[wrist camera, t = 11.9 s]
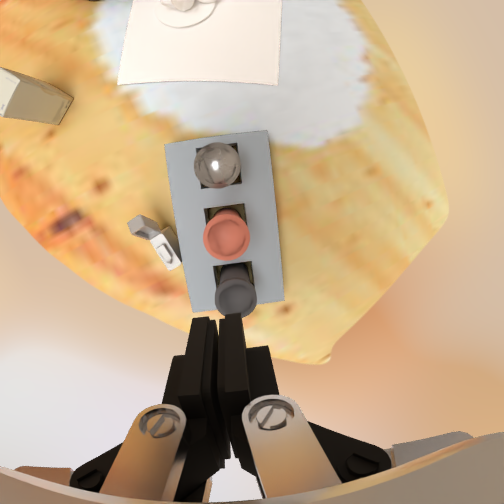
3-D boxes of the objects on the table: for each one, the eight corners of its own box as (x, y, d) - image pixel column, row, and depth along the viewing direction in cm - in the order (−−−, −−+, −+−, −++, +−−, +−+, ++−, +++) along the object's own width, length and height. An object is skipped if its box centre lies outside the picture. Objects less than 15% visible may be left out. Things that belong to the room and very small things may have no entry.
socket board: (263, 134, 34) (267, 130, 30) (279, 287, 39) (284, 300, 35) (171, 146, 33) (164, 144, 29) (196, 298, 39) (192, 312, 35)
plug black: (249, 254, 36) (254, 277, 29) (253, 285, 38) (259, 315, 30) (214, 258, 36) (211, 283, 29) (219, 290, 37) (218, 321, 30)
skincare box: (74, 98, 30) (23, 79, 18) (58, 127, 31) (2, 118, 19) (47, 82, 29) (-4, 63, 17) (32, 109, 29) (-23, 99, 18)
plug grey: (235, 146, 33) (237, 139, 25) (240, 181, 34) (243, 185, 26) (199, 151, 33) (190, 146, 25) (204, 186, 34) (197, 191, 26)
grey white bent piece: (186, 253, 37) (176, 275, 29) (175, 260, 37) (162, 283, 29) (157, 204, 35) (138, 215, 27) (145, 212, 35) (124, 224, 27)
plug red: (242, 201, 34) (247, 211, 26) (247, 237, 35) (252, 257, 27) (206, 206, 34) (199, 218, 26) (211, 242, 35) (206, 263, 27)
